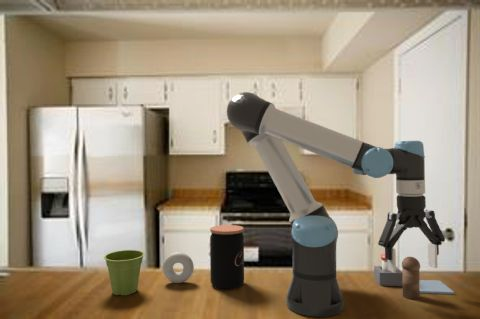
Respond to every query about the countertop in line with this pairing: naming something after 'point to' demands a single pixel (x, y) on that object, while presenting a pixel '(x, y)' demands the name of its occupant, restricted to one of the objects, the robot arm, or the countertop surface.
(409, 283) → the brown domed cylinder
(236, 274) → the coffee jar
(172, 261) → the donut
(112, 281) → the plant pot
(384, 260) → the button plunger
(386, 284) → the button collar
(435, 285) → the tile
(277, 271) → the countertop surface
